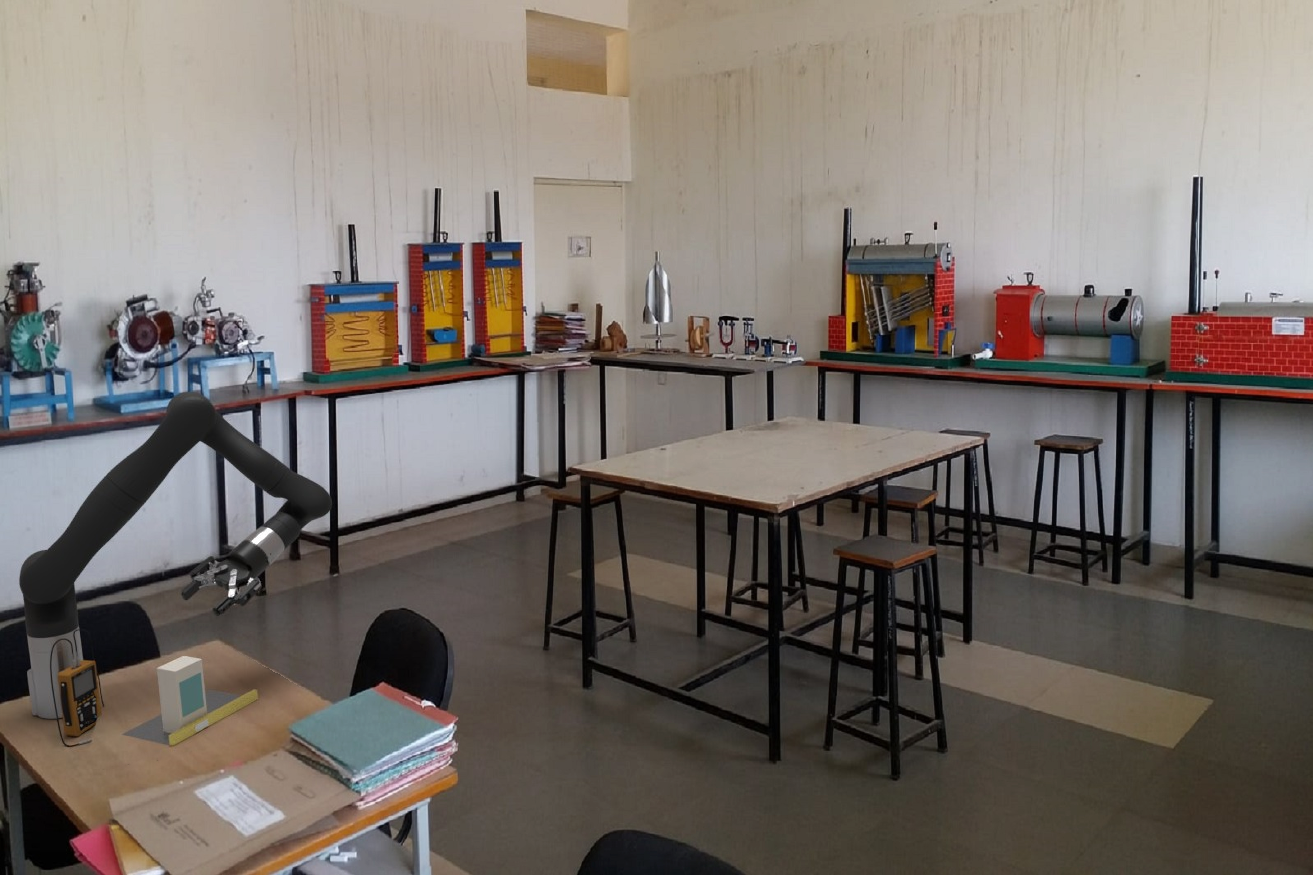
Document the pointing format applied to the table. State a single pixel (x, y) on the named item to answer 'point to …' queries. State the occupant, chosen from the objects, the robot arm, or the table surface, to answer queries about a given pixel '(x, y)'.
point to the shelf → (216, 710)
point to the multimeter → (78, 694)
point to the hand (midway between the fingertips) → (199, 605)
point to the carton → (181, 692)
